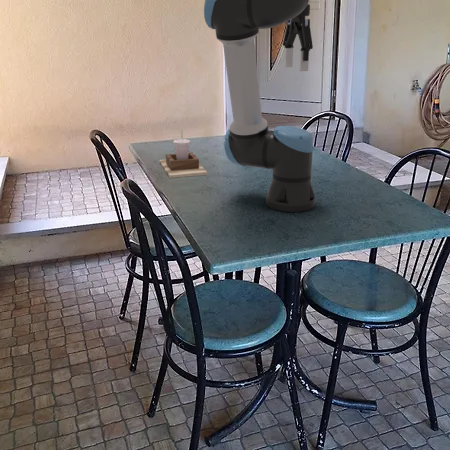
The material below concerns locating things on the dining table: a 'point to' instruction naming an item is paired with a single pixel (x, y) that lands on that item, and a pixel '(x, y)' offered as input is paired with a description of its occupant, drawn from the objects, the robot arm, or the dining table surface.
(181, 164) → the socket board
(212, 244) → the dining table surface
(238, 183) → the dining table surface
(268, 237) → the dining table surface
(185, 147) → the smoothie
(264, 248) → the dining table surface
